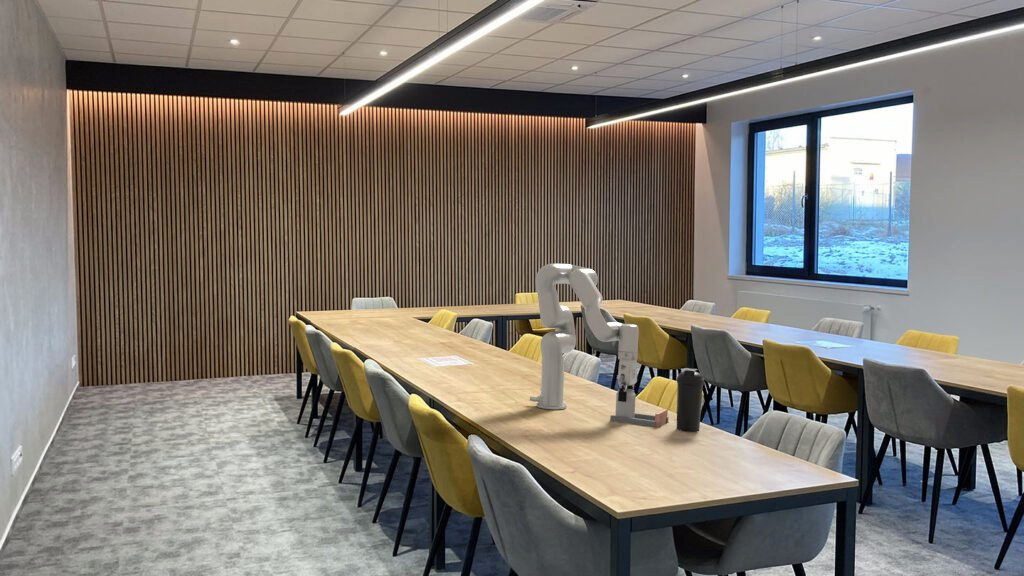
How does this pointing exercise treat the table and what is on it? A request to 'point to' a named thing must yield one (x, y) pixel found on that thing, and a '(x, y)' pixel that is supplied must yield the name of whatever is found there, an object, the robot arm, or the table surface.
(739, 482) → the table surface
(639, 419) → the channel
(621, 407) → the can
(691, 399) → the water bottle
